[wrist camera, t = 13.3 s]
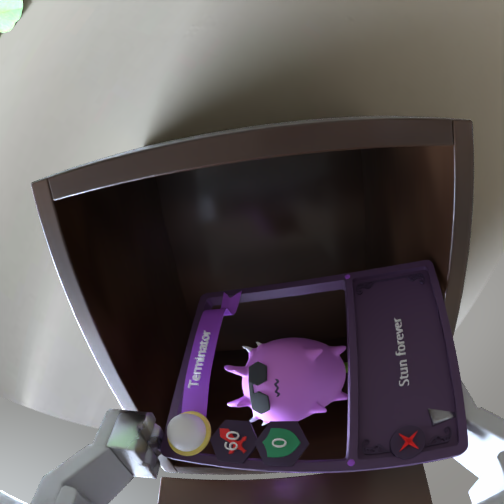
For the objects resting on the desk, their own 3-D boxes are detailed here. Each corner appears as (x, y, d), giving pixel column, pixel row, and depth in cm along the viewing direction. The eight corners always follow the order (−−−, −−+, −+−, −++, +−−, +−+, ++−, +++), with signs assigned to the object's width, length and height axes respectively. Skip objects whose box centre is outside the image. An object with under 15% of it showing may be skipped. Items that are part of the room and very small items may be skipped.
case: (141, 147, 18) (29, 183, 8) (365, 116, 17) (473, 120, 7) (194, 353, 24) (165, 472, 14) (370, 333, 23) (415, 448, 13)
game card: (476, 447, 5) (144, 449, 8) (440, 470, 8) (219, 475, 11) (431, 243, 10) (192, 282, 13) (424, 325, 13) (242, 346, 16)
